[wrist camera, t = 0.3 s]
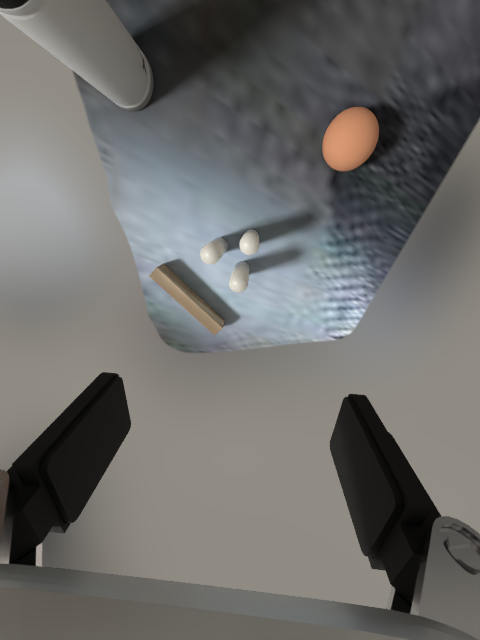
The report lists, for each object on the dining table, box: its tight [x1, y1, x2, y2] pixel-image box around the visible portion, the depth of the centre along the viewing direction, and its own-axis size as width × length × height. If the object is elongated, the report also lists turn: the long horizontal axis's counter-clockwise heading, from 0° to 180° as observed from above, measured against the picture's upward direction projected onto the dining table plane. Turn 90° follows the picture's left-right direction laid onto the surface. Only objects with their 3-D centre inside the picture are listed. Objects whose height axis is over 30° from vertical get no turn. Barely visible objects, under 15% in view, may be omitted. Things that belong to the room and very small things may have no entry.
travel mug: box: [0, 0, 154, 111], centre depth 20 cm, size 6×7×20 cm
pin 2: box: [229, 262, 250, 292], centre depth 34 cm, size 2×2×8 cm
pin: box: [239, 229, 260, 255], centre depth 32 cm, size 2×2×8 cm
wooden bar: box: [149, 264, 225, 335], centre depth 39 cm, size 2×14×3 cm, turn 44°
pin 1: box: [201, 238, 228, 264], centre depth 33 cm, size 2×2×8 cm
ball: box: [323, 107, 379, 171], centre depth 28 cm, size 6×6×6 cm
